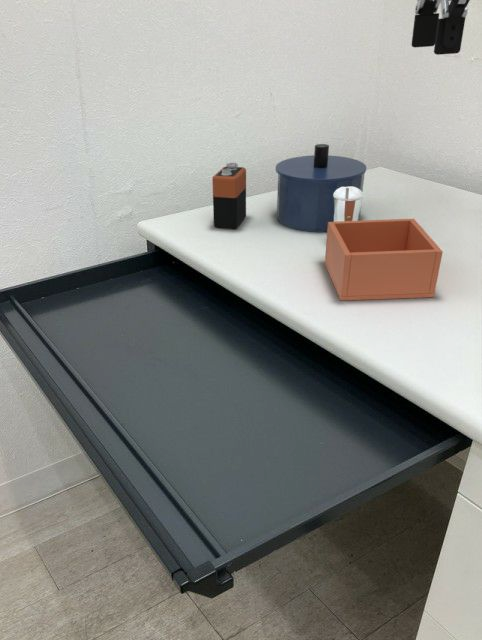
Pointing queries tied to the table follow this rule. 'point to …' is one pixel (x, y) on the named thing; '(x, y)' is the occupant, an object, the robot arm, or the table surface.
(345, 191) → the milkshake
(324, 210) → the pot
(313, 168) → the pot lid
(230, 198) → the battery
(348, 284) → the bin
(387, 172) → the table surface
